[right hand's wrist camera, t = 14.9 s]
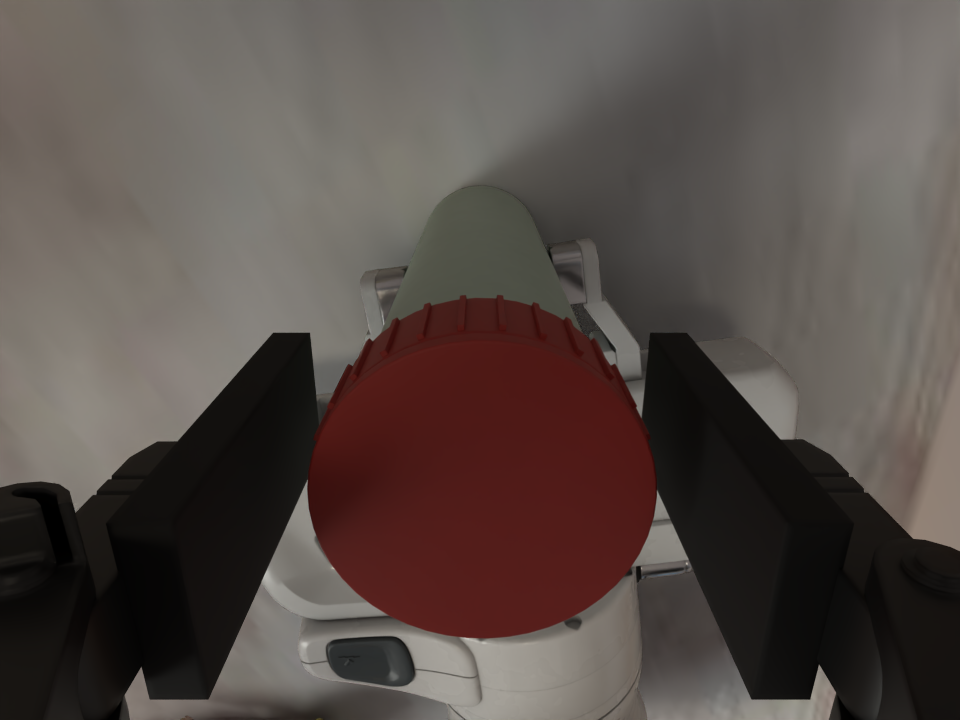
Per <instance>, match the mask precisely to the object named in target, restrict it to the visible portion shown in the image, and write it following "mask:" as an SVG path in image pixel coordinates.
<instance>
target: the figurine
mask: <svg viewBox="0 0 960 720" xmlns="http://www.w3.org/2000/svg"><path fill="white" fill-rule="evenodd" d="M185 717H186V718H182V719H181V720H193V719H192V718H191V717H189V716H185ZM315 720H323V719H321V718H318V719H315Z"/></svg>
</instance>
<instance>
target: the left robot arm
mask: <svg viewBox="0 0 960 720" xmlns="http://www.w3.org/2000/svg"><path fill="white" fill-rule="evenodd" d="M547 249H548V255H549V257H550V260H551V262H552V264H553V267H554V269H555V271H556V273H557V276H558V278H559V280H560V283H561V285H562V287H563V290H564V292H565V294H566V296H567V299H568V301H569V303H570V305H573V304H581V303H582V305H583V306H584V307H585V309H586V310H587V311H588V313H589V314H590V315H591V317H592V318H593V319H594V321H595V322H596V323H597V325H598V326H599V327H600V329H601V330H598V331H592V332H591V333H590V334H589V339H590V340H592V339H593V338H595V339H596V340H597V341H598V343H599V345H600V347H601V349H602V351H603V353H604V355H605V358H606V359H607V361H608V362H609V363H610V365H613V364H616V366H617V368H618V369H619V371H620V373H621V375H622V377H623V379H624V381H625V383H626V385H627V387H628V389H629V391H630V393H631V395H632V397H633V399H634V401H635V403H636V405H637V407H636V408H637V410H638V412H639V414H640V416H641V418H642V408H643V398H644V388H645V378H646V368H647V359H648V349H645V350H640V346H639V344H638V343H637V341H636V339H635V338H634V336H633V335H632V333H631V332H630V330H629V328H628V327H627V325H626V324H625V323H624V321H623V320H622V319H621V317H620V316H619V315H618V313H617V312H616V311H615V309H614V308H613V307H612V305H611V304H610V303H609V301H608V300H607V299H606V297H605V296H604V295H603V293H602V292H601V283H600V271H599V259H598V253H597V249H596V245H595V243H594V242H593V241H592V240H591V238H586V239H580V240H573V241H567V242H560V243H554V244H548V246H547ZM407 269H408V266H401V267H394V268H386V269H377V270H371V271H366V272H365V273H364V275H363V276H362V278H361V285H360V286H361V295H362V300H363V304H364V309H365V313H366V318H367V322H368V327H369V330H368V333H367V335H366V338H365V340H364V343H363V346H362V349H363V347H364V344H365V342H366V341H367V340H368V339H369V338H370V339H371V340H372V341H373V340H374V339H375V338H377V337H378V336H379V335H380V333H381V331H382V329H383V326H384V324H385V321H386V319H387V317H388V314H389V312H390V309H391V307H392V305H393V302H394V300H395V298H396V295H397V293H398V290H399V288H400V286H401V283H402V281H403V279H404V276H405V274H406V271H407ZM695 343H696V344H697V345H698V346H699V347H700V348H701V350H702V351H703V352H704V353H705V354H706V355H707V356H708V358H709V359H710V360H711V361H712V362H713V363H714V364H715V366H716V367H717V368H718V369H719V370H720V371H721V372H722V373H723V375H724V376H725V377H726V378H727V379H728V380H729V381H730V383H731V384H732V385H733V386H734V387H735V388H736V389H737V391H738V392H739V393H740V394H741V395H742V396H743V397H744V398H745V400H746V401H747V402H748V403H749V404H750V405H751V406H752V408H753V409H754V410H755V411H756V412H757V413H758V414H759V415H760V417H761V418H762V419H763V420H764V421H765V422H766V423H767V425H768V426H769V427H770V428H771V429H772V430H773V431H774V433H775V434H776V435H777V436H778V437H779V438H780V439H795V435H796V427H797V418H798V407H799V394H798V389H797V386H796V384H795V382H794V380H793V379H792V377H791V376H790V375H789V373H788V372H787V371H786V370H785V369H784V368H783V367H782V366H781V365H780V364H779V363H778V362H777V361H776V360H775V359H774V358H773V357H772V356H771V355H770V354H768V353H767V352H766V351H764V350H763V349H762V348H760V347H759V346H758V345H756V344H755V343H754V342H752V341H751V340H749V339H747V338H744V337H731V338H724V339H717V340H709V341H702V342H695ZM362 349H361V351H362ZM360 353H361V352H360ZM332 395H333V393H328V394H320V395H316V398H317V408H318V418H319V425H320V423H321V421H322V419H323V417H324V415H325V413H326V411H327V405H328V403H329V401H330V399H331V397H332ZM307 484H308V480H307V482H306V484H305V487H304V489H303V491H302V493H301V495H300V498H299V500H298V502H297V504H296V507H295V509H294V511H293V513H292V515H291V518H290V520H289V522H288V524H287V526H286V529H285V531H284V533H283V535H282V538H281V540H280V542H279V544H278V546H277V549H276V551H275V553H274V555H273V557H272V560H271V562H270V564H269V566H268V569H267V571H266V573H265V575H264V577H263V580H262V582H261V583H262V584H263V586H264V588H265V589H266V590H267V592H268V593H269V594H270V596H271V597H272V598H273V599H274V600H275V601H276V602H277V603H278V604H280V605H281V606H282V607H283V608H285V609H287V610H288V611H290V612H292V613H294V614H296V615H299V616H302V622H301V628H300V633H299V640H298V652H299V656H300V660H301V662H302V665H303V667H304V668H305V669H306V671H307V672H308V673H310V674H311V675H313V676H315V677H317V678H321V679H325V680H331V681H338V682H346V683H354V684H362V685H369V686H375V687H381V688H387V689H392V690H397V691H402V692H407V693H411V694H415V695H419V696H423V697H426V698H430V699H433V700H436V701H439V702H443V703H446V704H447V707H448V720H647V714H646V709H645V705H644V702H643V699H642V696H641V694H640V692H639V689H638V687H637V686H638V683H639V679H640V674H641V670H642V655H643V653H642V638H641V625H640V612H639V599H638V590H637V582H639V580H640V579H641V580H642V579H650V578H658V577H667V576H675V575H680V574H684V573H689V572H691V571H693V569H692V566H691V564H690V562H689V560H688V557H687V555H686V553H685V551H684V549H683V546H682V544H681V542H680V540H679V538H678V535H677V533H676V531H675V529H674V526H673V524H672V522H671V520H670V518H669V515H668V513H667V511H666V509H665V507H664V504H663V502H662V500H661V498H660V495H659V493H658V491H657V501H656V508H655V514H654V519H653V522H652V525H651V529H650V532H649V535H648V538H647V540H646V542H645V544H644V546H643V548H642V550H641V553H640V554H639V556H638V557H637V559H636V560H635V562H634V564H633V565H632V567H631V568H630V570H629V571H628V572H627V573H626V574H625V576H624V577H623V578H622V579H621V580H620V581H619V583H618V584H617V585H616V586H615V587H614V588H612V589H611V590H610V591H609V592H608V593H607V594H606V595H605V596H604V597H603V598H601V599H600V600H598V601H597V602H596V603H594V604H593V605H591V606H590V607H589V608H587V609H586V610H584V611H582V612H580V613H579V614H577V615H575V616H573V617H571V618H569V619H568V620H565V621H563V622H560V623H558V624H556V625H553V626H551V627H548V628H545V629H541V630H538V631H534V632H531V633H527V634H521V635H516V636H511V637H500V638H463V637H454V636H447V635H442V634H438V633H433V632H429V631H425V630H422V629H420V628H417V627H414V626H411V625H408V624H406V623H403V622H401V621H399V620H397V619H395V618H393V617H391V616H389V615H387V614H385V613H384V612H382V611H380V610H379V609H377V608H375V607H374V606H372V605H371V604H370V603H368V602H367V601H366V600H364V599H363V598H362V597H361V596H359V595H358V594H357V593H356V592H355V591H354V590H353V589H352V588H351V587H350V586H349V585H348V584H347V583H346V582H345V581H344V580H343V579H342V578H341V577H340V575H339V574H338V573H337V572H336V570H335V569H334V568H333V566H332V565H331V564H330V562H329V560H328V559H327V557H326V555H325V553H324V552H323V550H322V548H321V546H320V544H319V541H318V539H317V536H316V534H315V531H314V529H313V525H312V521H311V517H310V512H309V506H308V494H307Z"/></svg>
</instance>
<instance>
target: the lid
mask: <svg viewBox="0 0 960 720" xmlns="http://www.w3.org/2000/svg"><path fill="white" fill-rule="evenodd" d="M636 407H637V405H636V403H635V401H634V399H633V397H632V395H631V393H630V391H629V389H628V387H627V385H626V383H625V381H624V379H623V377H622V375H621V373H620V371H619V369H618V368H617V366H616V364H613V365H610V363H609V362H608V361H607V359H606V358H605V355H604V353H603V351H602V349H601V347H600V345H599V343H598V341H597V340H596V339H595V338H593V339H592V340H590V339H589V338H588V337H587V336H585V335H584V334H583V333H582V332H580V331H579V330H578V329H577V328H575V327H574V326H573V323H572V321H571V319H569V318H568V317H565V319H564V320H563V319H561V318H559V317H558V316H556V315H554V314H552V313H549V312H547V311H545V310H542V309H540V306H539V304H538V303H535V302H533V304H532V306H531V305H528V304H524V303H521V302H517V301H511V300H504V298H503V295H497V298H469V299H467V297H466V295H461V296H460V299H459V300H452V301H448V302H444V303H439V304H435V305H432V306H431V303H430V302H429V303H426V304H424V307H423V309H422V310H419V311H416V312H414V313H412V314H410V315H408V316H407V317H405V318H403V319H401V320H399V319H398V318H397V317H396V318H395V319H393V320H392V322H391V325H390V327H389V328H387V329H386V330H385V331H383V332H382V333H381V334H380V335H379V336H378V337H377V338H375V339H374V340H373V341H372V340H371V339H370V338H369V339H368V340H367V341H366V342H365V344H364V347H363V349H362V351H361V353H360V355H359V357H358V359H357V360H356V361H355V363H354V365H353V366H351V365H349V364H348V366H347V367H346V369H345V371H344V373H343V375H342V377H341V379H340V381H339V383H338V385H337V387H336V389H335V391H334V393H333V395H332V397H331V399H330V401H329V403H328V405H327V411H326V413H325V415H324V417H323V419H322V421H321V423H320V425H319V427H318V429H317V431H316V433H315V435H314V439H313V440H315V441H317V442H316V444H315V447H314V449H313V453H312V457H311V461H310V466H309V470H308V484H307V494H308V506H309V512H310V517H311V521H312V525H313V529H314V531H315V534H316V536H317V539H318V541H319V544H320V546H321V548H322V550H323V552H324V553H325V555H326V557H327V559H328V560H329V562H330V564H331V565H332V566H333V568H334V569H335V570H336V572H337V573H338V574H339V575H340V577H341V578H342V579H343V580H344V581H345V582H346V583H347V584H348V585H349V586H350V587H351V588H352V589H353V590H354V591H355V592H356V593H357V594H358V595H359V596H361V597H362V598H363V599H364V600H366V601H367V602H368V603H370V604H371V605H372V606H374V607H375V608H377V609H379V610H380V611H382V612H384V613H385V614H387V615H389V616H391V617H393V618H395V619H397V620H399V621H401V622H403V623H406V624H408V625H411V626H414V627H417V628H420V629H422V630H425V631H429V632H433V633H438V634H442V635H447V636H454V637H463V638H500V637H511V636H516V635H521V634H527V633H531V632H534V631H538V630H541V629H545V628H548V627H551V626H553V625H556V624H558V623H560V622H563V621H565V620H568V619H569V618H571V617H573V616H575V615H577V614H579V613H580V612H582V611H584V610H586V609H587V608H589V607H590V606H591V605H593V604H594V603H596V602H597V601H598V600H600V599H601V598H603V597H604V596H605V595H606V594H607V593H608V592H609V591H610V590H611V589H612V588H614V587H615V586H616V585H617V584H618V583H619V581H620V580H621V579H622V578H623V577H624V576H625V574H626V573H627V572H628V571H629V570H630V568H631V567H632V565H633V564H634V562H635V560H636V559H637V557H638V556H639V554H640V553H641V550H642V548H643V546H644V544H645V542H646V540H647V538H648V535H649V532H650V529H651V525H652V522H653V519H654V514H655V508H656V501H657V475H656V469H655V463H654V457H653V454H652V451H651V448H650V445H649V442H648V440H650V439H651V438H650V434H649V432H648V430H647V428H646V426H645V424H644V422H643V420H642V418H641V416H640V414H639V412H638V410H637V408H636Z"/></svg>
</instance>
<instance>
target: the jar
mask: <svg viewBox="0 0 960 720" xmlns="http://www.w3.org/2000/svg"><path fill="white" fill-rule="evenodd" d="M461 295H466V297H467V299H469V298H497V295H503V298H504V300H511V301H517V302H521V303H524V304H528V305H531V306H532V304H533V302H535V303H538V304H539V306H540V309H542V310H545V311H547V312H549V313H552V314H554V315H556V316H558V317H559V318H561V319H563V320H564V319H565V317H568V318H569V319H571V321H572V323H573V326H574V327H575V328H577V329H578V330H579V331H580V332H582V331H581V328H580V326H579V324H578V322H577V319H576V317H575V315H574V312H573V310H572V308H571V306H570V303H569V301H568V299H567V296H566V294H565V292H564V290H563V287H562V285H561V283H560V280H559V278H558V276H557V273H556V271H555V269H554V267H553V264H552V262H551V260H550V257H549V255H548V253H547V251H546V248H545V246H544V244H543V241H542V239H541V237H540V234H539V232H538V230H537V228H536V225H535V223H534V221H533V219H532V217H531V215H530V213H529V212H528V210H527V209H526V207H525V206H524V205H523V204H522V203H521V202H520V201H519V200H518V199H517V198H515V197H514V196H512V195H511V194H509V193H508V192H505V191H503V190H501V189H498V188H494V187H489V186H472V187H467V188H463V189H461V190H458V191H456V192H454V193H452V194H450V195H449V196H447V197H446V198H445V199H443V200H442V201H441V202H440V203H439V204H438V205H437V206H436V208H435V209H434V210H433V212H432V213H431V215H430V217H429V219H428V221H427V224H426V226H425V229H424V231H423V233H422V236H421V238H420V240H419V243H418V245H417V248H416V250H415V252H414V255H413V257H412V259H411V262H410V264H409V267H408V269H407V271H406V274H405V276H404V279H403V281H402V283H401V286H400V288H399V290H398V293H397V295H396V298H395V300H394V302H393V305H392V307H391V309H390V312H389V314H388V317H387V319H386V321H385V324H384V326H383V329H382V331H381V333H382V332H383V331H385V330H386V329H387V328H389V327H390V325H391V322H392V320H393V319H395V318H396V317H397V318H398V319H399V320H401V319H403V318H405V317H407V316H408V315H410V314H412V313H414V312H416V311H419V310H422V309H423V307H424V304H426V303H429V302H430V303H431V306H432V305H435V304H439V303H444V302H448V301H452V300H459V299H460V296H461ZM381 333H380V334H381Z"/></svg>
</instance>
